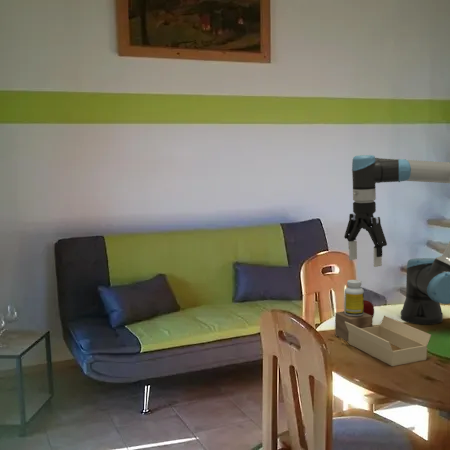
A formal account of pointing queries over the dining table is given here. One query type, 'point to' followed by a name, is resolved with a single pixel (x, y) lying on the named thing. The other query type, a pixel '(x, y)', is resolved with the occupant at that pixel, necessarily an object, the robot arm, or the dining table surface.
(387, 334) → the carton
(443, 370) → the dining table surface
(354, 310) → the pill bottle
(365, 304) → the apple
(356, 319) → the block
